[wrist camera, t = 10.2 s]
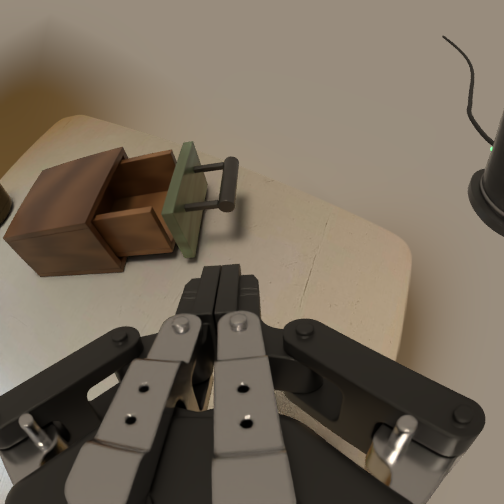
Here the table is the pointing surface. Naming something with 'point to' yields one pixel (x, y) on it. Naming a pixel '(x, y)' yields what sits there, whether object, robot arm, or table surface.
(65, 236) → the cabinet
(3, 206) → the lamp
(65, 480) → the robot arm
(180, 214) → the drawer
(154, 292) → the table surface
